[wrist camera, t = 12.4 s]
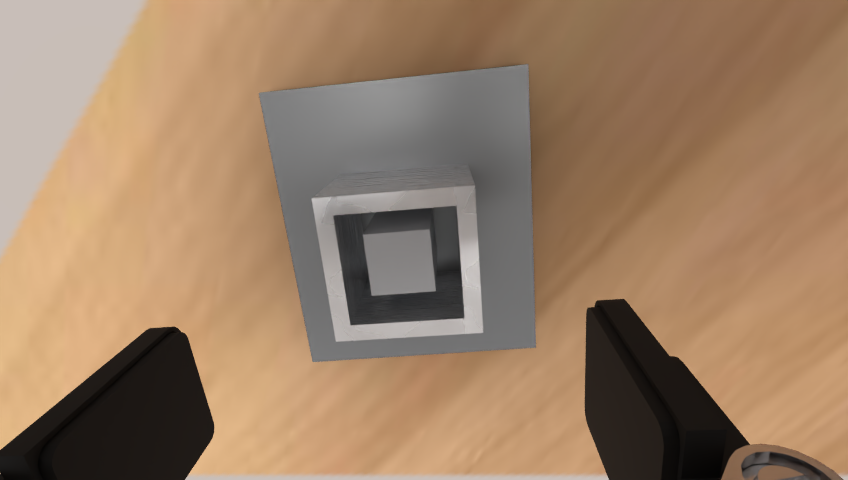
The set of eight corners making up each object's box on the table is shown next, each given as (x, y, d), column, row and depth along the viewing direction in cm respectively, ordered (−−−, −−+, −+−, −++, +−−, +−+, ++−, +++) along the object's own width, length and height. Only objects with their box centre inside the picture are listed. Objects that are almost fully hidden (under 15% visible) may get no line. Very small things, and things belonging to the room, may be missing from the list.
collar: (467, 163, 21) (474, 185, 16) (475, 282, 23) (483, 332, 18) (340, 174, 22) (311, 198, 17) (357, 290, 23) (335, 341, 19)
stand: (522, 65, 21) (551, 57, 16) (530, 333, 26) (555, 403, 20) (270, 92, 22) (210, 93, 16) (319, 347, 26) (285, 418, 21)
